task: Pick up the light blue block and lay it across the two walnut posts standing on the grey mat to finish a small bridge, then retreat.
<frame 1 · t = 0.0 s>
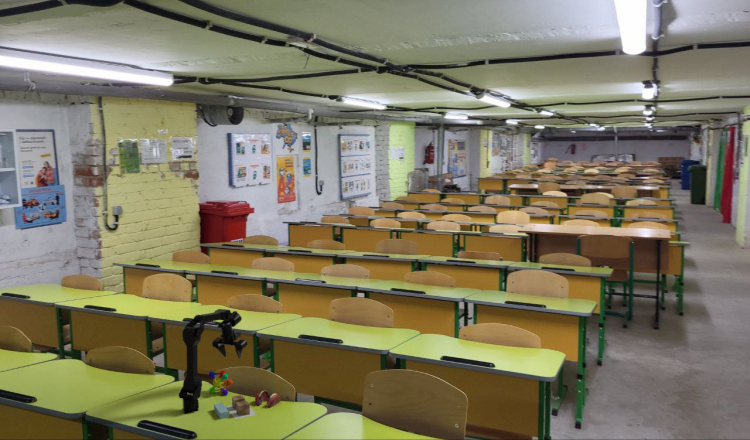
hand: (232, 357, 313), 15 cm above the table, tool pointing down, fingers open, 9 cm apart
post right: (243, 413, 277), resting on mat
mat: (240, 411, 281), on the table
light blue block: (221, 414, 278), on the table
post left: (238, 407, 284), resting on mat
teeth model: (268, 404, 289), on the table
molecular model: (220, 393, 304), on the table
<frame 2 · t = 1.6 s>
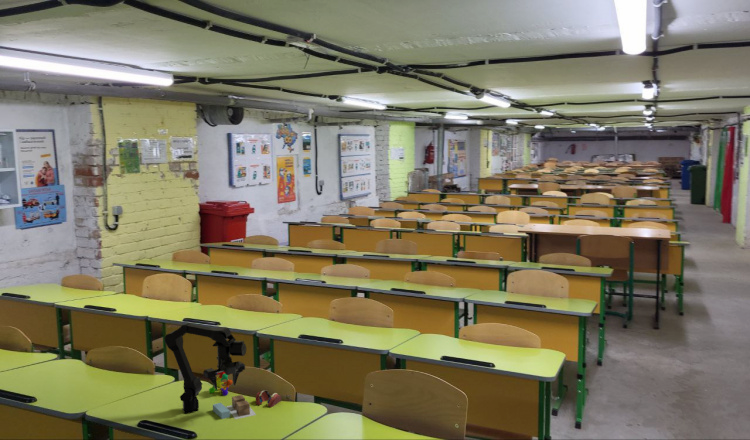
hand: (225, 387, 279), 12 cm above the table, tool pointing down, fingers open, 9 cm apart
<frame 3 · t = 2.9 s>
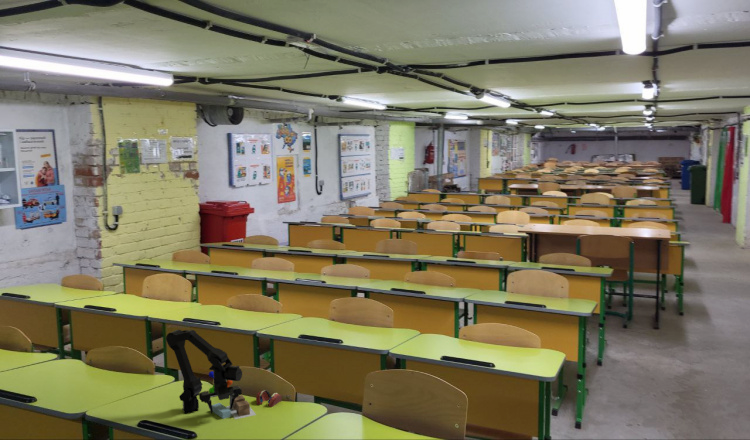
hand: (221, 411, 278), 1 cm above the table, tool pointing down, fingers open, 8 cm apart
post left: (238, 407, 284), resting on mat, touching gripper
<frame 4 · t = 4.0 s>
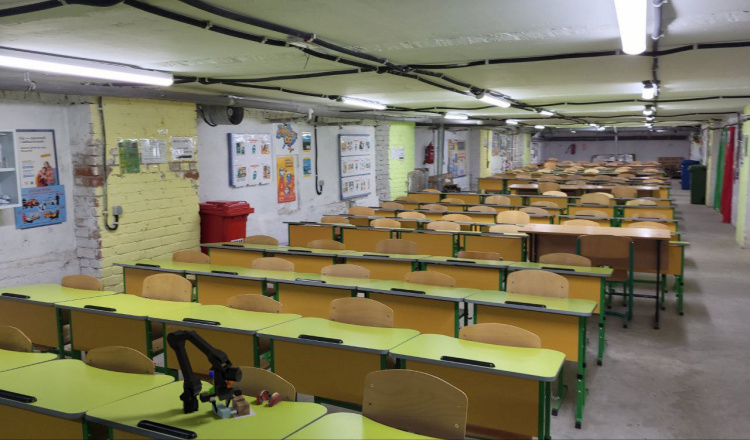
hand: (221, 412, 278), 1 cm above the table, tool pointing down, fingers closed on light blue block, 4 cm apart
light blue block: (221, 414, 278), on the table, touching gripper
post left: (238, 407, 284), resting on mat
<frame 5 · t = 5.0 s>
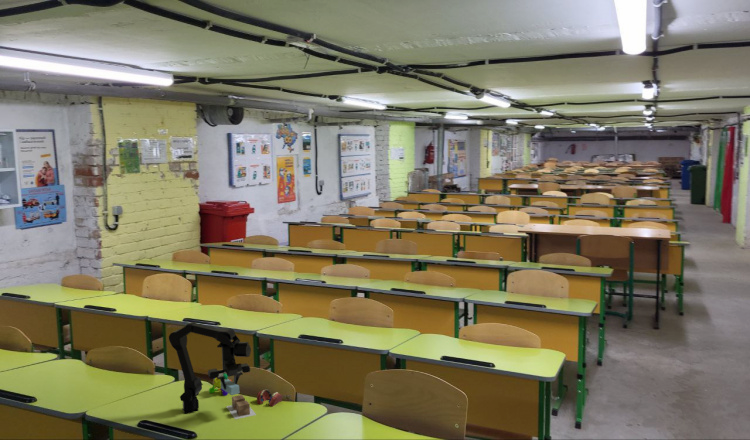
hand: (230, 388, 278), 12 cm above the table, tool pointing down, fingers closed on light blue block, 4 cm apart
light blue block: (230, 390, 278), point 11 cm above the table, touching gripper
when the fingers open (8 cm above the table, at t = 6.5 s): light blue block drops 1 cm, resting on post left, post right.
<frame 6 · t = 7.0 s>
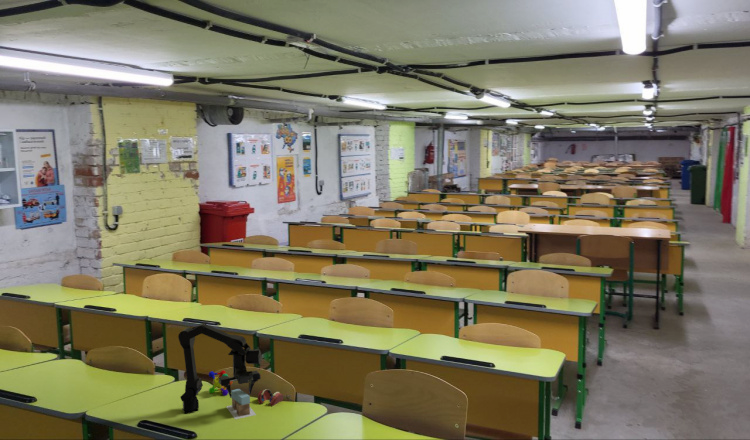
hand: (240, 395, 280), 8 cm above the table, tool pointing down, fingers open, 9 cm apart
post right: (243, 413, 277), resting on mat, touching light blue block
light blue block: (240, 400, 281), point 5 cm above the table, touching post left, post right
post left: (238, 407, 284), resting on mat, touching light blue block
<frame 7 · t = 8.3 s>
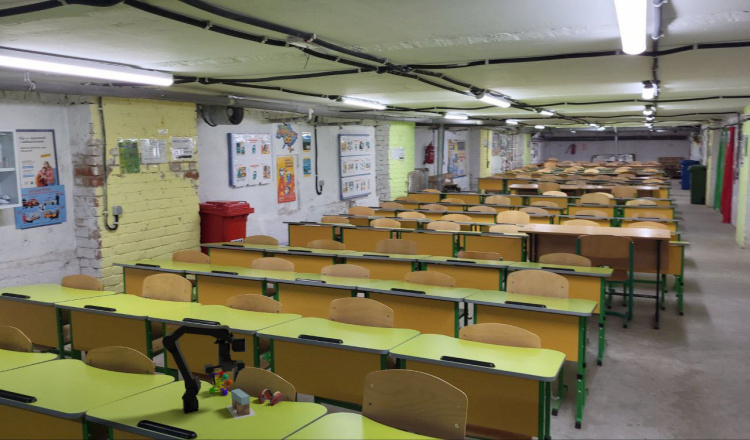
hand: (224, 384, 283), 12 cm above the table, tool pointing down, fingers open, 9 cm apart
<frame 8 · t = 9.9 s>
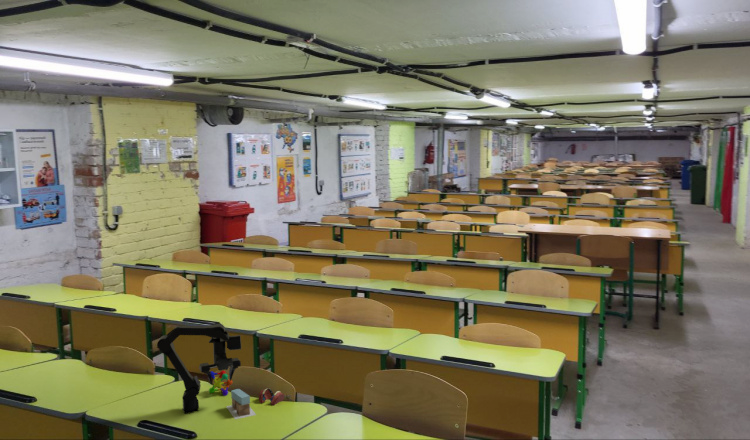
hand: (220, 382, 285), 13 cm above the table, tool pointing down, fingers open, 9 cm apart
at the end: light blue block 0.0 cm from the target spot, point 5.3 cm above the table; light blue block tilted 0°; the gripper is holding nothing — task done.
